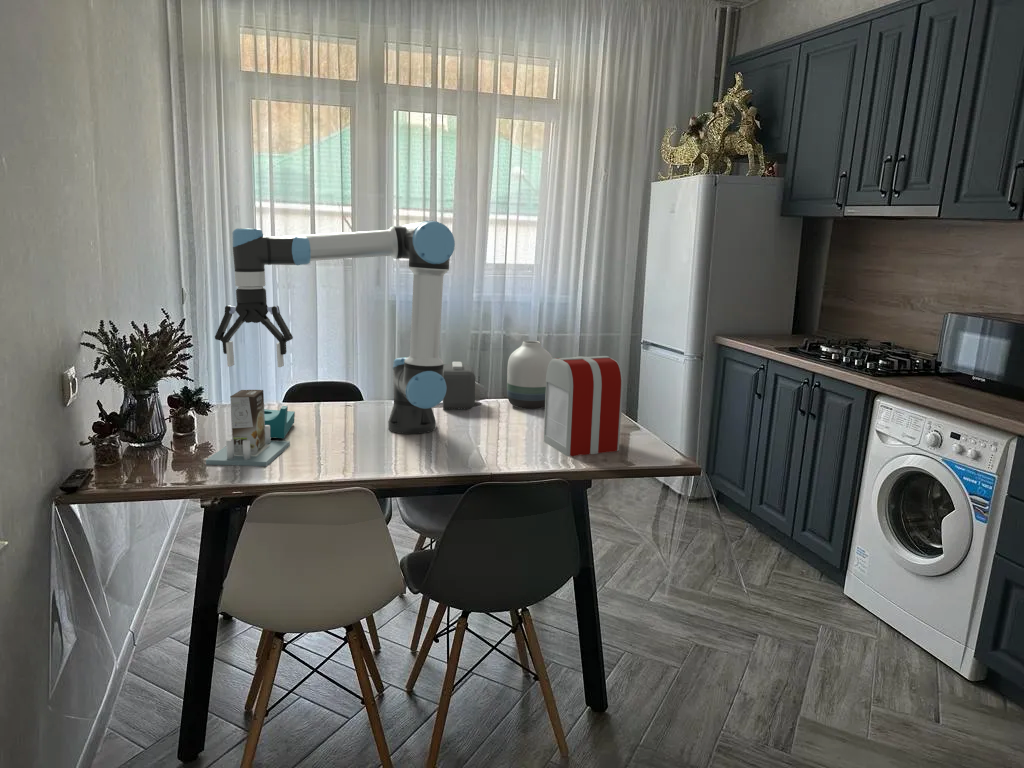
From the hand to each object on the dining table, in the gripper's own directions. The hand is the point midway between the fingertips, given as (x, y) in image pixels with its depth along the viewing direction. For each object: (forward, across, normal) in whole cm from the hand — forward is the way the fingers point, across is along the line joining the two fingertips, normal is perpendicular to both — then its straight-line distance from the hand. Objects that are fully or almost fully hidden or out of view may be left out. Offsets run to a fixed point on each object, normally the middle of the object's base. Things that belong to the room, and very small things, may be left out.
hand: (255, 366), depth 190 cm
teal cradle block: (+25, +4, -20) cm, 32 cm away
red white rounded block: (+26, -91, -15) cm, 96 cm away
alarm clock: (+26, -50, -61) cm, 83 cm away
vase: (+26, -76, -63) cm, 102 cm away
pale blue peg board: (+24, +2, +2) cm, 25 cm away
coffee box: (+23, +2, +2) cm, 24 cm away
